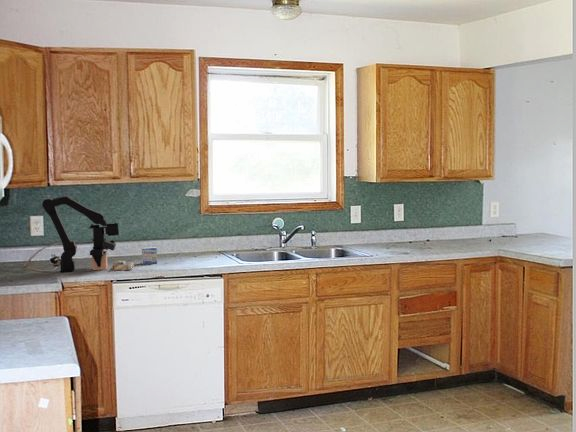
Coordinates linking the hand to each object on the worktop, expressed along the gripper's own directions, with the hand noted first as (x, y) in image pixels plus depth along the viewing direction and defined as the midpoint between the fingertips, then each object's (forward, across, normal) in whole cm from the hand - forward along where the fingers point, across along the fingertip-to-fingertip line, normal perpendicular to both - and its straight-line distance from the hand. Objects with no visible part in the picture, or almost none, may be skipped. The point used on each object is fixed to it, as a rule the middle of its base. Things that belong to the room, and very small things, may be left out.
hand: (100, 266), depth 359 cm
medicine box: (+2, +14, -24) cm, 28 cm away
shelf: (+2, 0, -12) cm, 12 cm away
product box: (+2, 0, 0) cm, 2 cm away
